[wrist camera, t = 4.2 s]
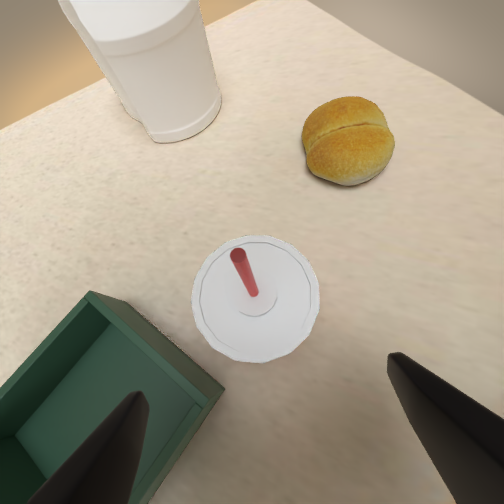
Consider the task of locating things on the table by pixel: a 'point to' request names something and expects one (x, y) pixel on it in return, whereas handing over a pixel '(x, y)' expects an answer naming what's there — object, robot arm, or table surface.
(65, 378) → the square green tray
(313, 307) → the beverage cup
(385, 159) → the bread roll
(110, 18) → the jar
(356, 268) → the table surface
